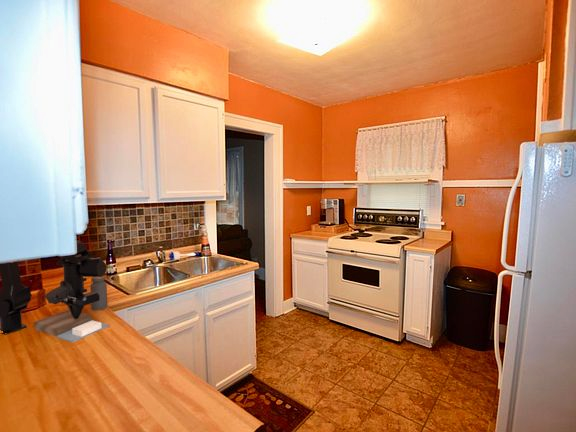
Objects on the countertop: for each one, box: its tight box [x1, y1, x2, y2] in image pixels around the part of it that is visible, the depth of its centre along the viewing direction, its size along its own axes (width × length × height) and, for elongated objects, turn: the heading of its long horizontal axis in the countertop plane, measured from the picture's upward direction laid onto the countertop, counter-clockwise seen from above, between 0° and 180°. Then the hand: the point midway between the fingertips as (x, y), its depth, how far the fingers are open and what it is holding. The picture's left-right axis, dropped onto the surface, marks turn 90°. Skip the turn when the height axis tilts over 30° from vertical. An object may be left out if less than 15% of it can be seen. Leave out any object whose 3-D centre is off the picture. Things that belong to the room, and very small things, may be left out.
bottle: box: [89, 275, 108, 311], centre depth 127 cm, size 6×6×15 cm
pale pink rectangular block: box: [72, 320, 102, 337], centre depth 105 cm, size 5×7×2 cm
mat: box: [56, 320, 110, 343], centre depth 106 cm, size 8×13×1 cm, turn 158°
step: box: [33, 309, 93, 337], centre depth 110 cm, size 14×12×3 cm
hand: (76, 318), depth 107 cm, fingers closed
